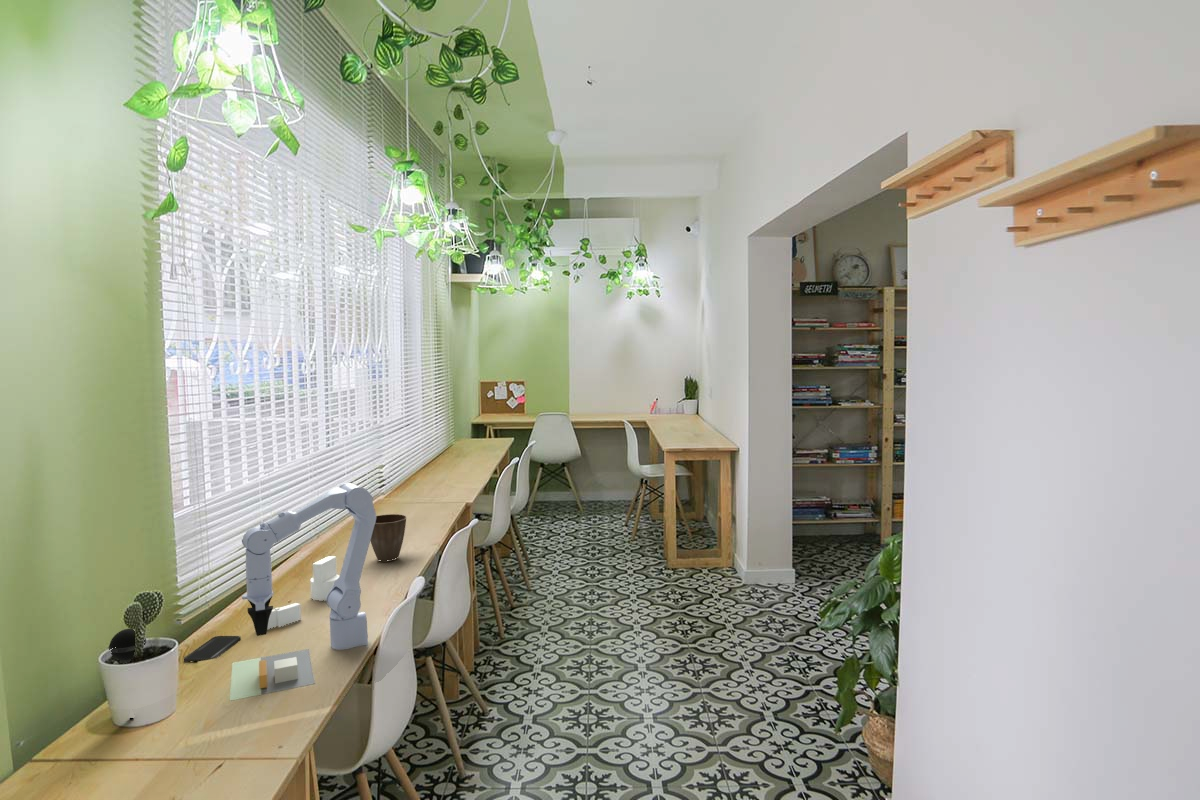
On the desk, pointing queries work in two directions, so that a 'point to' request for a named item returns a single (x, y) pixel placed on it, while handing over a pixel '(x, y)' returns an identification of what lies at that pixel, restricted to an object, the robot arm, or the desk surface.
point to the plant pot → (388, 536)
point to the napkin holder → (284, 615)
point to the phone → (212, 648)
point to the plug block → (286, 670)
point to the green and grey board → (268, 675)
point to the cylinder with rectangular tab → (323, 578)
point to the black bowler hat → (123, 645)
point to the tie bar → (263, 674)
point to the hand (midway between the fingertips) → (261, 629)
